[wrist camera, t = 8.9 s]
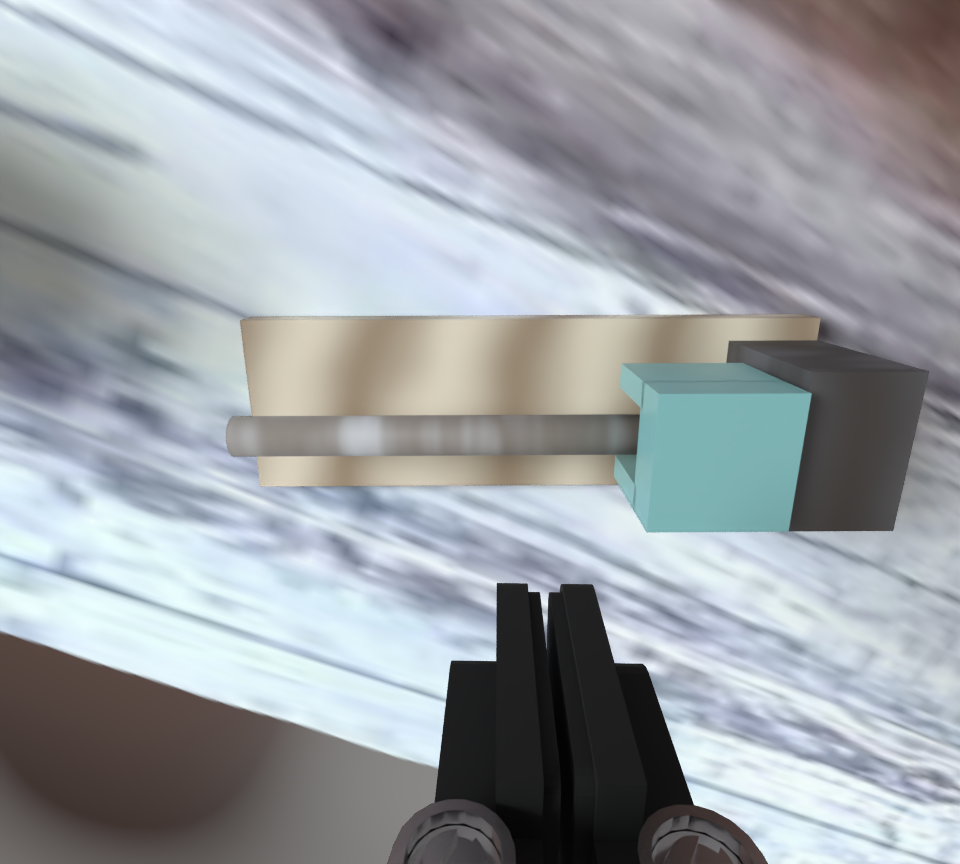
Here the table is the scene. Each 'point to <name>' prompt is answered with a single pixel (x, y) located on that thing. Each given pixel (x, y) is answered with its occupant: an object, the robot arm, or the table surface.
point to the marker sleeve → (712, 447)
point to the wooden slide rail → (552, 402)
